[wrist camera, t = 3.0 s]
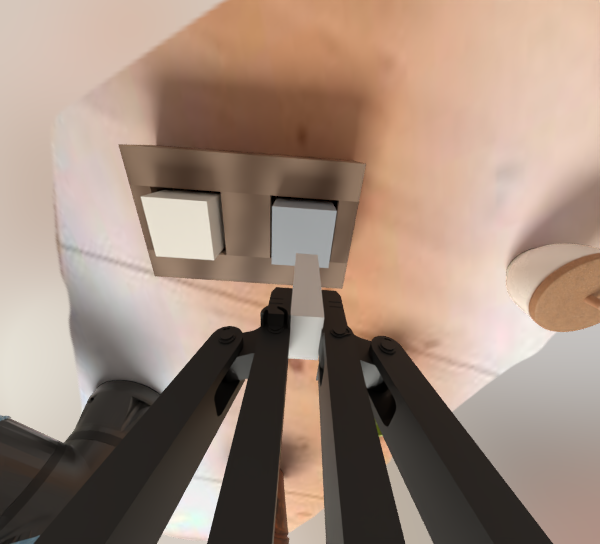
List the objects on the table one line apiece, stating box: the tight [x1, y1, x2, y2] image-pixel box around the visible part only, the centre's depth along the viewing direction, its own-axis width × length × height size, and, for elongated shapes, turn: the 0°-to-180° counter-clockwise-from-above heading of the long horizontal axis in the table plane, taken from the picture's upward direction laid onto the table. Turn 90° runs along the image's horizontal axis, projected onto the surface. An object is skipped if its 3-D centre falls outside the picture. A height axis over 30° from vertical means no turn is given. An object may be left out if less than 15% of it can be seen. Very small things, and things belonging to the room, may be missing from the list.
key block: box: [119, 145, 366, 289], centre depth 27 cm, size 23×14×6 cm, turn 86°
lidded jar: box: [506, 243, 600, 332], centre depth 29 cm, size 11×11×9 cm
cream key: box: [141, 190, 226, 260], centre depth 24 cm, size 6×6×4 cm
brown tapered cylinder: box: [273, 469, 289, 544], centre depth 59 cm, size 18×20×18 cm
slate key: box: [272, 198, 337, 268], centre depth 24 cm, size 6×6×4 cm
